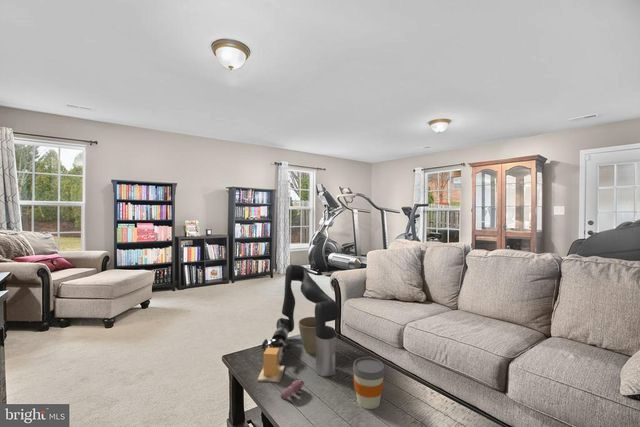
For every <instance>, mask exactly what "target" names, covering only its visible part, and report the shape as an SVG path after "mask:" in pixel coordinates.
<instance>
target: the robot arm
mask: <svg viewBox="0 0 640 427" xmlns="http://www.w3.org/2000/svg"><path fill="white" fill-rule="evenodd" d="M284 276H285V277H284V297H283V304H282V309H281V314H282V316H285V317H286V318H283V317H280V318H278V319H277V321H276V330H274V333H273V335H272V337H271V339H270V340H268V338H265V339H264V340H263V342H262V344H261V347H262V348H261V349H262V350H263V353H264V352H265V350H266V348H279V349H281V354H284V353H286V352H287V350H288V351H290V350H291V347H292V340H291V339H288V338H289V333H292V332H293V331H294V329H295V319H294V312H295V306H296V297H295V294H294V292H293V289H292V282H300V283H301V284H300V292H301V293H302V295H303V296H304V297H305V299H306V300H307V301H309V302H311V303H312V304H313V303H314V304H315V306H314V317H315V329H316V354H315V373H316V375H318V376H320V377H331V376H335V375H336V329H335V328H334V327H332V326H329V325H325V322H326V323H327V322H328V323H329V322H333V321H336V320H338V319H339V318H340V316H341V310H340V308H339V307H340V306H339V305H338V303H337V301H335V300H334V299H333V298H332V297H331V296H329V295H328V294H327V293H326V292H325V291H324V290H323V289H322V288H321V287H320V286H319V284H317V282H316V281H315V280H314V279H313V278H312V277H311V275H310V274H309V273H308V270H307V269H306V268H305V267H304V266H303V265H300V264H289V265H288V266H287V267H286V270H285V275H284Z"/></svg>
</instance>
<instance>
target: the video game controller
mask: <svg viewBox="0 0 640 427" xmlns="http://www.w3.org/2000/svg"><path fill="white" fill-rule="evenodd" d="M304 385H305V381H303V380H302V379H301V378H299V379H297V380H294V381H292V382H291V384H290V385H289V386H287V387H286V389H284V390H283V391H282V392H281V393H280V398H281V399H287V398H292V397H293V396H294V395H295V394H298V393H299V392H300V390H301V389H302V388H303V387H304Z"/></svg>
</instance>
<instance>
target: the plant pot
mask: <svg viewBox="0 0 640 427" xmlns="http://www.w3.org/2000/svg"><path fill="white" fill-rule="evenodd" d="M297 324H298V329H299V334H300V339H301V342H302V346H303V348H304V350H305V353H306V354H309V355H310V354H311V355H313V354H315V355H316V329H315V316H308V317H303V318H301V319H299V320H298V323H297ZM326 324H327V322H325V325H326ZM326 326H327V325H326Z"/></svg>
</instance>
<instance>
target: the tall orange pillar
mask: <svg viewBox="0 0 640 427" xmlns="http://www.w3.org/2000/svg"><path fill="white" fill-rule="evenodd" d="M263 366H264V376H277V373H278V371H279V366H280V348H278V347H275V348H266V350H265V352H264V351H263Z"/></svg>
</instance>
